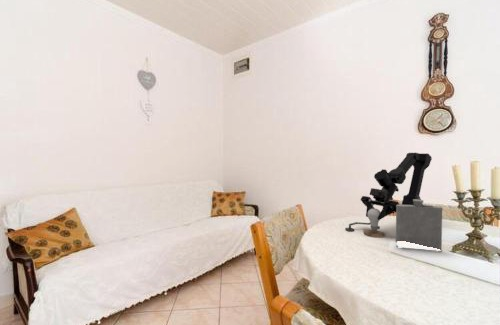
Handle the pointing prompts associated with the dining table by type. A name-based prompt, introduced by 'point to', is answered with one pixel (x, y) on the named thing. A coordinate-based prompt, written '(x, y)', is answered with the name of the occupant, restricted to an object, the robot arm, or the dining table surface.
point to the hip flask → (419, 224)
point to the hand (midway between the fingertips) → (372, 217)
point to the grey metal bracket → (357, 223)
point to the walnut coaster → (374, 233)
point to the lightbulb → (373, 218)
